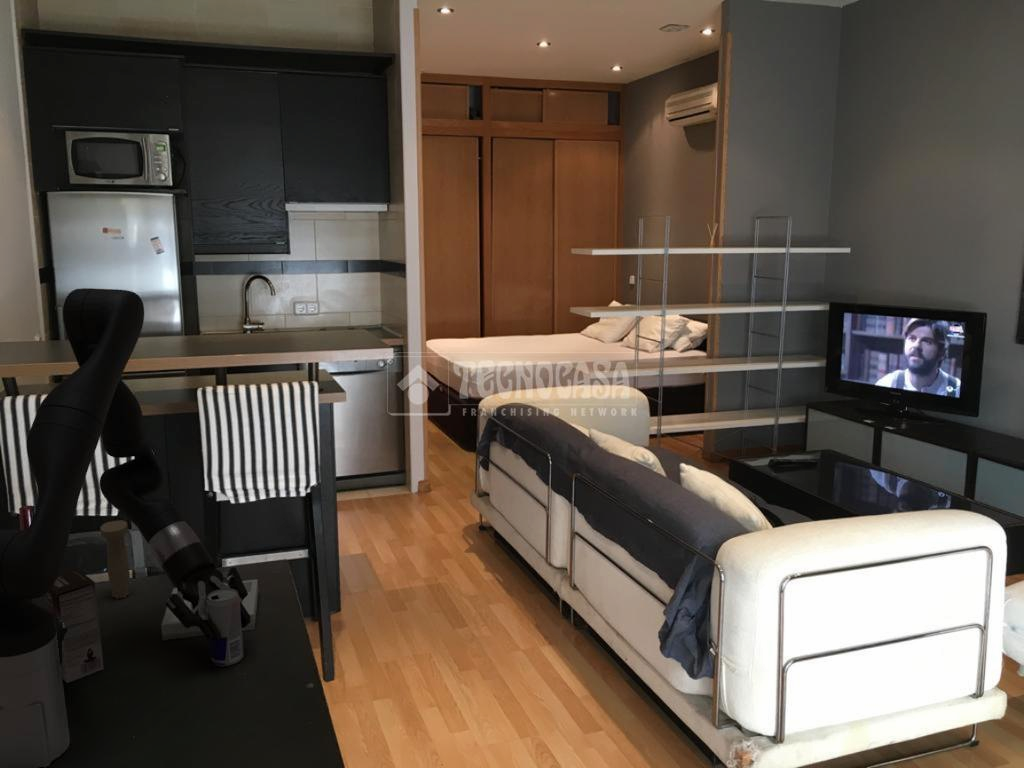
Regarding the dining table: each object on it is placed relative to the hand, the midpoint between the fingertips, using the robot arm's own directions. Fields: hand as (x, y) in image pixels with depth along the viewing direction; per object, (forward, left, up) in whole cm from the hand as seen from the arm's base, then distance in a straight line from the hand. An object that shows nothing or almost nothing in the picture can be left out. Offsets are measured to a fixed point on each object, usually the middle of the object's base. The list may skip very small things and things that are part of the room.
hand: (232, 632), depth 143 cm
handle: (+33, +24, -6) cm, 42 cm away
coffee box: (+5, +26, -6) cm, 27 cm away
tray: (+19, +5, -5) cm, 21 cm away
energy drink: (+1, +1, -6) cm, 6 cm away
